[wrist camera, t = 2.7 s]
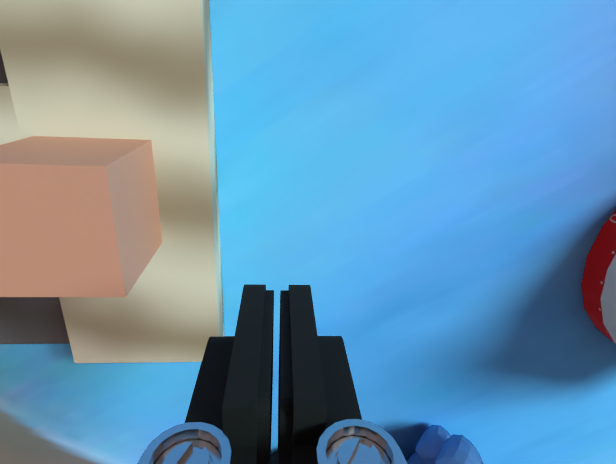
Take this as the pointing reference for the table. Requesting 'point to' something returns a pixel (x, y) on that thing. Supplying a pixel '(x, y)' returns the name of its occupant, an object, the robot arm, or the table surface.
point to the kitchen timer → (602, 280)
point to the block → (76, 216)
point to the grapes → (444, 449)
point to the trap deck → (124, 125)
